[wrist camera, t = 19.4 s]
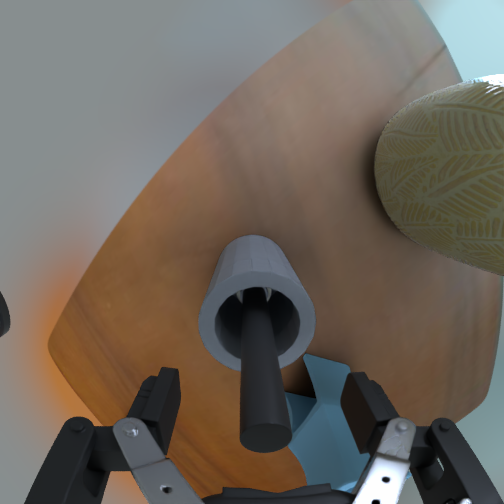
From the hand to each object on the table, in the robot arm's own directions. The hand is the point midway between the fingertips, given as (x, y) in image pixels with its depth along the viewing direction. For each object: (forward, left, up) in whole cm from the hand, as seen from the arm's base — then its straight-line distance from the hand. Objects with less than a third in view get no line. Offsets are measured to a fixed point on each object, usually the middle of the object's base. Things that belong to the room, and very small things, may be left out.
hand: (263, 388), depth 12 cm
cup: (0, 0, -20) cm, 20 cm away
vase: (+20, +13, -20) cm, 31 cm away
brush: (0, 0, -19) cm, 19 cm away
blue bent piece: (+10, -16, -20) cm, 28 cm away
